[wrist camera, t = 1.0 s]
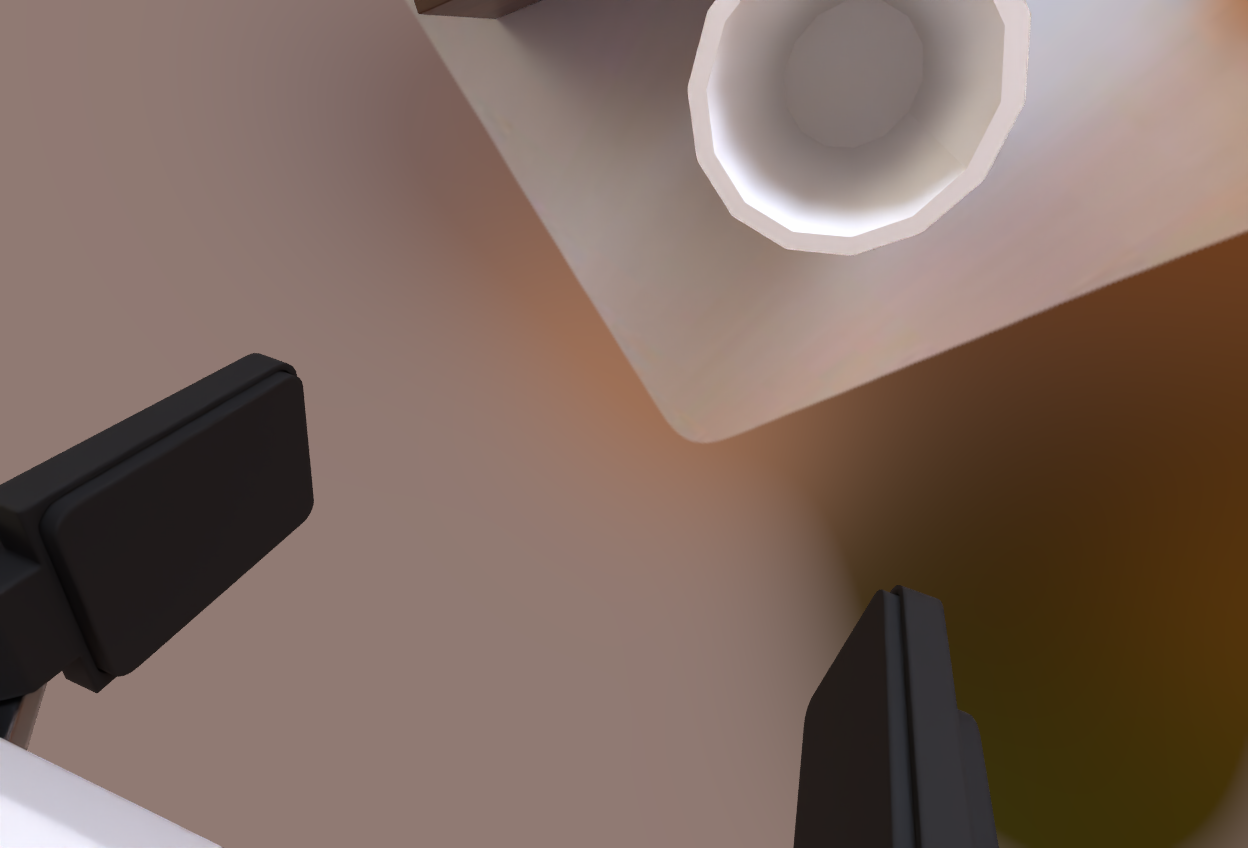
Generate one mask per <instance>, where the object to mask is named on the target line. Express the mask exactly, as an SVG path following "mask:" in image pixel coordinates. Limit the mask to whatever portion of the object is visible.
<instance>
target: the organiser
mask: <svg viewBox="0 0 1248 848" xmlns="http://www.w3.org/2000/svg"><path fill="white" fill-rule="evenodd" d="M539 1H541V0H414V2H415V5H416V8H417V11H418V13H419V14H424V15H440V16H456V17H472V18H488V19H497V18H499V17H502V16H504V15H507V14H509V13H512V12H514V11H517V10H519V9H522V8H524V7H527V6H529V5H532V4H534V3H537V2H539Z"/></svg>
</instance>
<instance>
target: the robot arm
mask: <svg viewBox="0 0 1248 848" xmlns="http://www.w3.org/2000/svg"><path fill="white" fill-rule="evenodd" d="M306 425H307V424H306V414H305V403H304V392H303V385H302V381H301V380H300V378H298V377H297V374H296V371H295V369H294V368H293V366H291V365H289V364H287V363H284V362H282V361H279V360H276V359H273V358H271V357H268V356H265V355H262V354H259V353H258V354H257V353H253V354H250V355H247V356H245V357H243V358H241V359H239V360H238V361H236V362H234V363H232V364H230V365H228V366H226V367H224V368H222V369H220V370H218V371H217V372H215V373H213V374H211V375H209V376H207V377H205V378H203V379H201V380H199V381H197V382H196V383H194V384H192V385H190V386H188V387H186V388H184V389H182V390H180V391H179V392H176V393H175V394H173V395H171V396H169V397H167V398H165V399H163V400H161V401H159V402H157V403H156V404H154V405H152V406H150V407H148V408H146V409H144V410H142V411H140V412H138V413H137V414H135V415H133V416H131V417H129V418H127V419H125V420H123V421H121V422H119V423H117V424H115V425H114V426H112V427H110V428H108V429H106V430H104V431H102V432H100V433H98V434H96V435H94V436H93V437H91V438H89V439H87V440H85V441H83V442H81V443H80V444H77V445H75V446H74V447H72V448H70V449H68V450H66V451H64V452H62V453H60V454H58V455H56V456H55V457H53V458H51V459H49V460H47V461H45V462H43V463H41V464H39V465H37V466H35V467H33V468H32V469H30V470H28V471H26V472H24V473H22V474H20V475H18V476H16V477H14V478H13V479H11V480H9V481H7V482H5V483H3V484H1V485H0V848H223V847H221V846H219V845H217V844H215V843H213V842H211V841H209V840H207V839H205V838H203V837H201V836H199V835H197V834H195V833H193V832H191V831H189V830H187V829H185V828H183V827H181V826H179V825H177V824H175V823H173V822H171V821H169V820H167V819H165V818H163V817H161V816H159V815H157V814H155V813H153V812H151V811H149V810H147V809H145V808H143V807H141V806H139V805H137V804H135V803H133V802H131V801H128V800H127V799H125V798H122V797H120V796H118V795H116V794H114V793H112V792H110V791H108V790H106V789H104V788H102V787H100V786H98V785H96V784H94V783H92V782H90V781H88V780H86V779H84V778H82V777H80V776H78V775H76V774H74V773H71V772H70V771H68V770H65V769H63V768H61V767H59V766H57V765H55V764H53V763H51V762H49V761H47V760H45V759H43V758H41V757H39V756H37V755H35V754H33V753H31V752H29V751H27V748H28V745H29V741H30V738H31V735H32V732H33V728H34V725H35V722H36V718H37V715H38V712H39V708H40V705H41V701H42V698H43V695H44V691H45V688H46V685H47V682H48V681H50V680H51V679H52V678H53V677H54V676H56V675H57V674H58V673H60V672H61V671H63V673H64V675H65V678H66V679H68V680H70V681H72V682H74V683H77V684H78V685H80V686H83V687H85V688H87V689H89V690H91V691H93V692H95V693H98V692H99V691H101V690H102V689H103V688H104V687H105V686H106V685H107V684H109V683H110V682H111V681H112V680H113V679H114V678H116V677H117V676H124V675H126V674H128V673H131V672H132V671H133V670H135V669H136V668H137V667H139V666H140V665H141V664H142V663H143V662H144V661H145V660H146V659H148V658H149V657H150V656H151V655H152V654H153V653H155V652H156V651H157V650H158V649H159V648H160V647H161V646H162V645H164V644H165V643H166V642H167V641H168V640H169V639H171V638H172V637H173V636H174V635H175V634H176V633H177V632H179V631H180V630H181V629H182V628H183V627H184V626H185V625H187V624H188V623H189V622H190V621H191V620H192V619H193V618H194V617H196V616H197V615H198V614H199V613H200V612H201V611H203V610H204V609H205V608H206V607H207V606H208V605H209V604H211V603H212V602H213V601H214V600H215V599H216V598H217V597H218V596H220V595H221V594H222V593H223V592H224V591H225V590H227V589H228V588H229V587H230V586H231V585H232V584H233V583H235V582H236V581H237V580H238V579H239V578H240V577H241V576H242V575H243V574H245V573H246V572H247V571H248V570H249V569H251V568H252V567H253V566H254V565H255V564H256V563H257V562H259V561H260V560H261V559H262V558H263V557H264V556H265V555H266V554H268V553H269V552H270V551H271V550H272V549H273V548H274V547H276V546H277V545H278V544H279V543H280V542H281V541H282V540H284V539H285V538H286V537H287V536H288V535H289V534H291V532H292V531H294V530H295V529H296V528H297V527H299V526H300V525H301V524H302V523H303V522H304V521H305V520H306V519H307V517H308V516H309V514H310V512H311V510H312V507H313V503H314V499H313V488H312V477H311V467H310V457H309V446H308V435H307V426H306ZM794 848H999V846H998V840H997V834H996V829H995V823H994V816H993V810H992V804H991V798H990V792H989V786H988V780H987V774H986V768H985V763H984V756H983V750H982V745H981V738H980V733H979V730H978V726H977V723H976V722H975V720H974V719H973V717H972V716H971V715H969V714H967V713H965V712H962V711H960V710H958V709H957V704H956V696H955V689H954V682H953V674H952V667H951V660H950V652H949V645H948V638H947V631H946V624H945V616H944V610H943V605H942V602H941V601H940V600H939V599H937V598H934V597H931V596H928V595H925V594H923V593H920V592H917V591H914V590H912V589H909V588H906V587H903V586H900V585H897V586H895V587H894V588H893V589H892V590H891V592H890V593H889V592H886V591H884V590H879V591H877V592H876V594H875V595H874V596H873V598H872V600H871V601H870V603H869V605H868V606H867V608H866V610H865V611H864V613H863V615H862V616H861V618H860V620H859V621H858V623H857V624H856V626H855V628H854V629H853V631H852V633H851V634H850V636H849V637H848V639H847V641H846V642H845V644H844V646H843V647H842V649H841V650H840V652H839V654H838V655H837V657H836V659H835V660H834V662H833V664H832V665H831V667H830V668H829V670H828V672H827V673H826V675H825V677H824V678H823V680H822V682H821V683H820V685H819V686H818V688H817V690H816V691H815V693H814V695H813V696H812V698H811V700H810V703H809V705H808V708H807V712H806V716H805V722H804V733H803V743H802V755H801V767H800V779H799V790H798V802H797V814H796V825H795V837H794Z"/></svg>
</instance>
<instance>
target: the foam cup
mask: <svg viewBox="0 0 1248 848" xmlns="http://www.w3.org/2000/svg"><path fill="white" fill-rule="evenodd" d="M1030 25H1031V12H1030V10H1029V8H1028V6H1027V4H1026V2H1025V0H715V2H714V3H713V4H712V6H711V7H710V8H709V10H708V11H707V15H706V19H705V23H704V26H703V30H702V34H701V38H700V42H699V46H698V49H697V53H696V57H695V61H694V65H693V69H692V72H691V76H690V80H689V84H688V88H687V91H688V99H689V106H690V113H691V120H692V128H693V135H694V142H695V149H696V156H697V161H698V163H699V164H700V166H701V168H702V169H703V171H704V172H705V174H706V176H707V177H708V179H709V180H710V182H711V183H712V185H713V187H714V188H715V190H716V191H717V193H718V194H719V196H720V198H721V199H722V201H723V202H724V204H725V206H726V207H727V209H728V210H729V212H730V213H731V215H732V216H733V217H734V218H736V219H738V220H739V221H741V222H743V223H744V224H746V225H747V226H749V227H751V228H752V229H754V230H756V231H757V232H759V233H761V234H762V235H764V236H765V237H767V238H769V239H770V240H772V241H774V242H775V243H777V244H778V245H780V246H782V247H783V248H785V249H788V250H798V251H808V252H818V253H828V254H839V255H849V256H853V255H857V254H860V253H863V252H866V251H869V250H872V249H875V248H878V247H881V246H884V245H887V244H890V243H893V242H896V241H899V240H902V239H905V238H908V237H911V236H914V235H917V234H920V233H922V232H924V231H925V230H926V229H927V228H928V227H930V226H931V225H932V224H933V223H934V222H935V221H937V220H938V219H939V218H940V217H941V216H942V215H944V214H945V213H946V212H947V211H948V210H950V209H951V208H952V207H953V206H954V205H955V204H957V203H958V202H959V201H960V200H961V199H963V198H964V197H965V196H966V195H967V194H968V193H970V192H971V191H972V190H973V189H974V188H975V187H977V186H978V185H979V184H980V183H981V182H983V181H984V179H985V178H986V176H987V174H988V172H989V170H990V168H991V166H992V164H993V162H994V161H995V159H996V157H997V155H998V153H999V151H1000V149H1001V147H1002V145H1003V144H1004V142H1005V140H1006V138H1007V136H1008V134H1009V132H1010V130H1011V128H1012V127H1013V125H1014V123H1015V121H1016V119H1017V117H1018V115H1019V113H1020V111H1021V110H1022V108H1023V106H1024V104H1025V98H1026V83H1027V69H1028V54H1029V40H1030Z"/></svg>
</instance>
